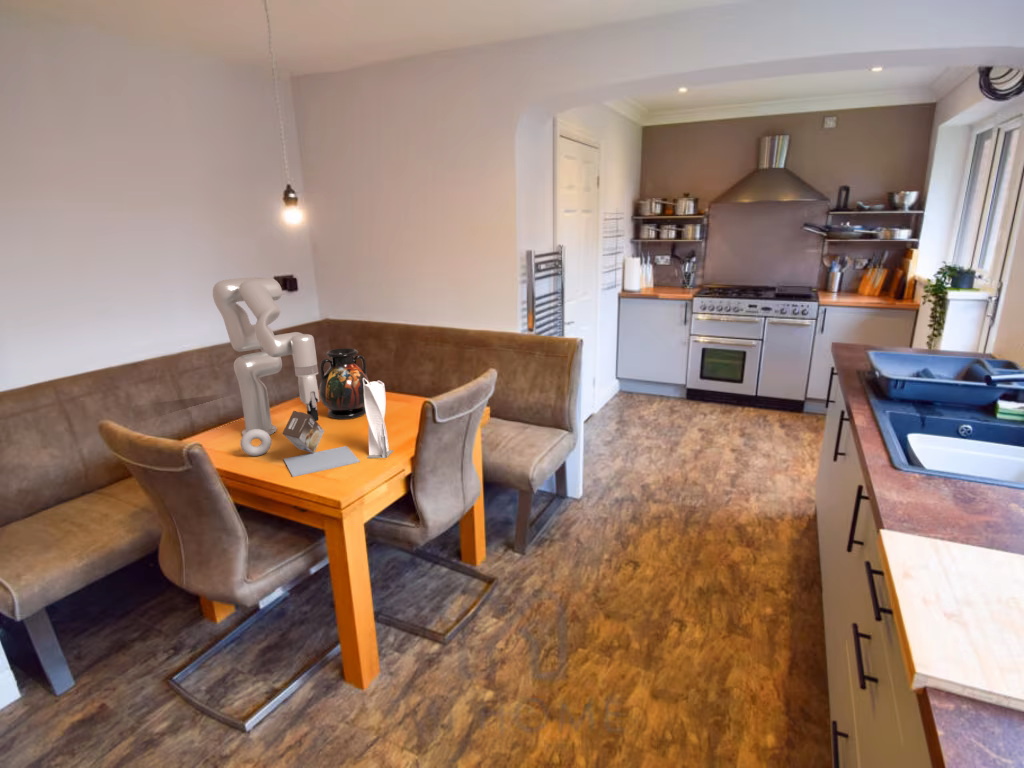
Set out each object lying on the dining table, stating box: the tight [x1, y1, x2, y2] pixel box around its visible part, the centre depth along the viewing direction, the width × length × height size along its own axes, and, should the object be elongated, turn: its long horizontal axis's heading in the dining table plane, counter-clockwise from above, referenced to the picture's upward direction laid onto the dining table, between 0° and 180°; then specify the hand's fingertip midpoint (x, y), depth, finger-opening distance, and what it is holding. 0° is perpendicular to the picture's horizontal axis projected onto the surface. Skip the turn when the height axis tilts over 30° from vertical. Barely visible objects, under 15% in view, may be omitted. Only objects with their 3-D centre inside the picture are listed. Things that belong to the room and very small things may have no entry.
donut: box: [240, 429, 272, 457], centre depth 197 cm, size 10×4×10 cm, turn 115°
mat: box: [283, 445, 360, 478], centre depth 192 cm, size 16×22×1 cm
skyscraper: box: [362, 378, 394, 459], centre depth 195 cm, size 8×8×28 cm
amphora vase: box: [318, 347, 371, 420], centre depth 238 cm, size 22×22×28 cm
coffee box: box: [281, 410, 325, 453], centre depth 193 cm, size 9×6×16 cm
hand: (313, 420), depth 197 cm, fingers closed
